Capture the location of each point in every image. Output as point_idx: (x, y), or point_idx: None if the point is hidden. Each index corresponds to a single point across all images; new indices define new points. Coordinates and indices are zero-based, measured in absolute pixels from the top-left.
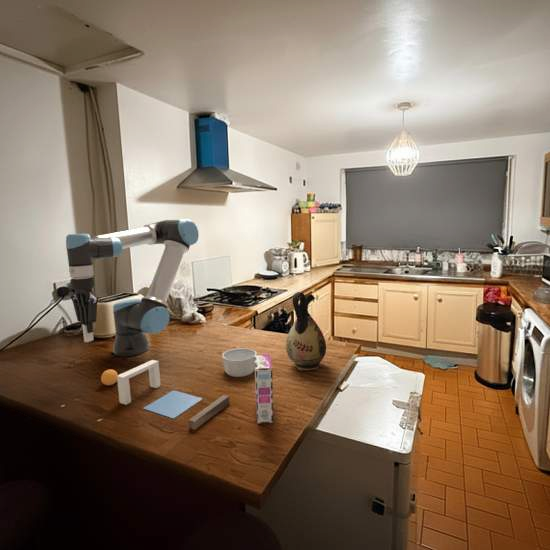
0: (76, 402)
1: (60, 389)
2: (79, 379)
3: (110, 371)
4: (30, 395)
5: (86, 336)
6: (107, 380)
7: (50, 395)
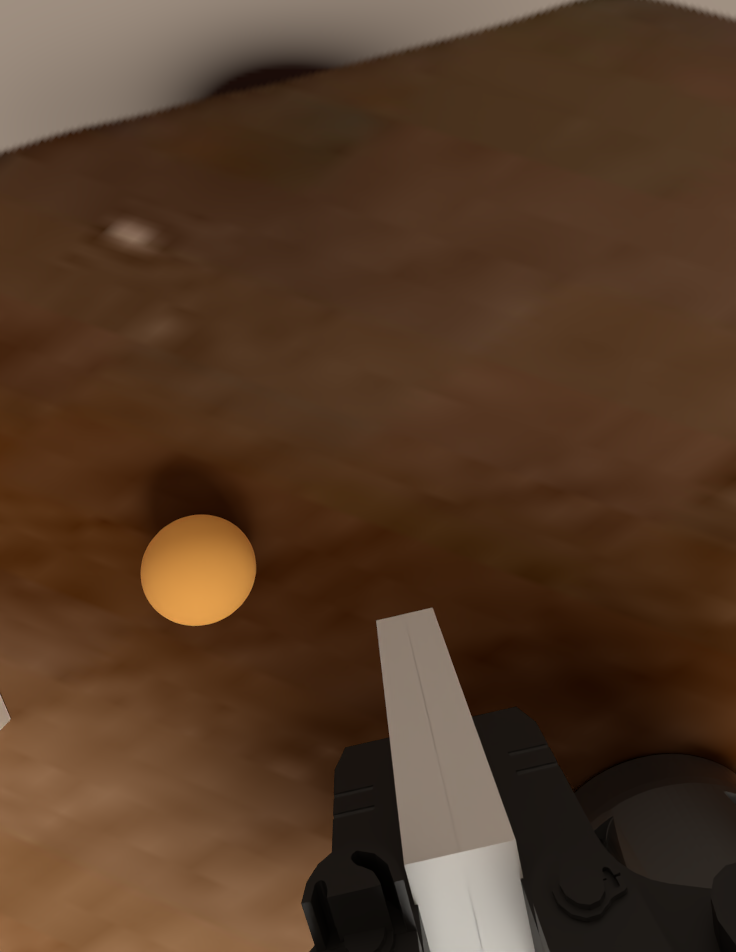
0: (113, 309)
1: (402, 306)
2: (461, 449)
3: (159, 591)
4: (473, 129)
5: (383, 674)
6: (153, 538)
7: (358, 227)
